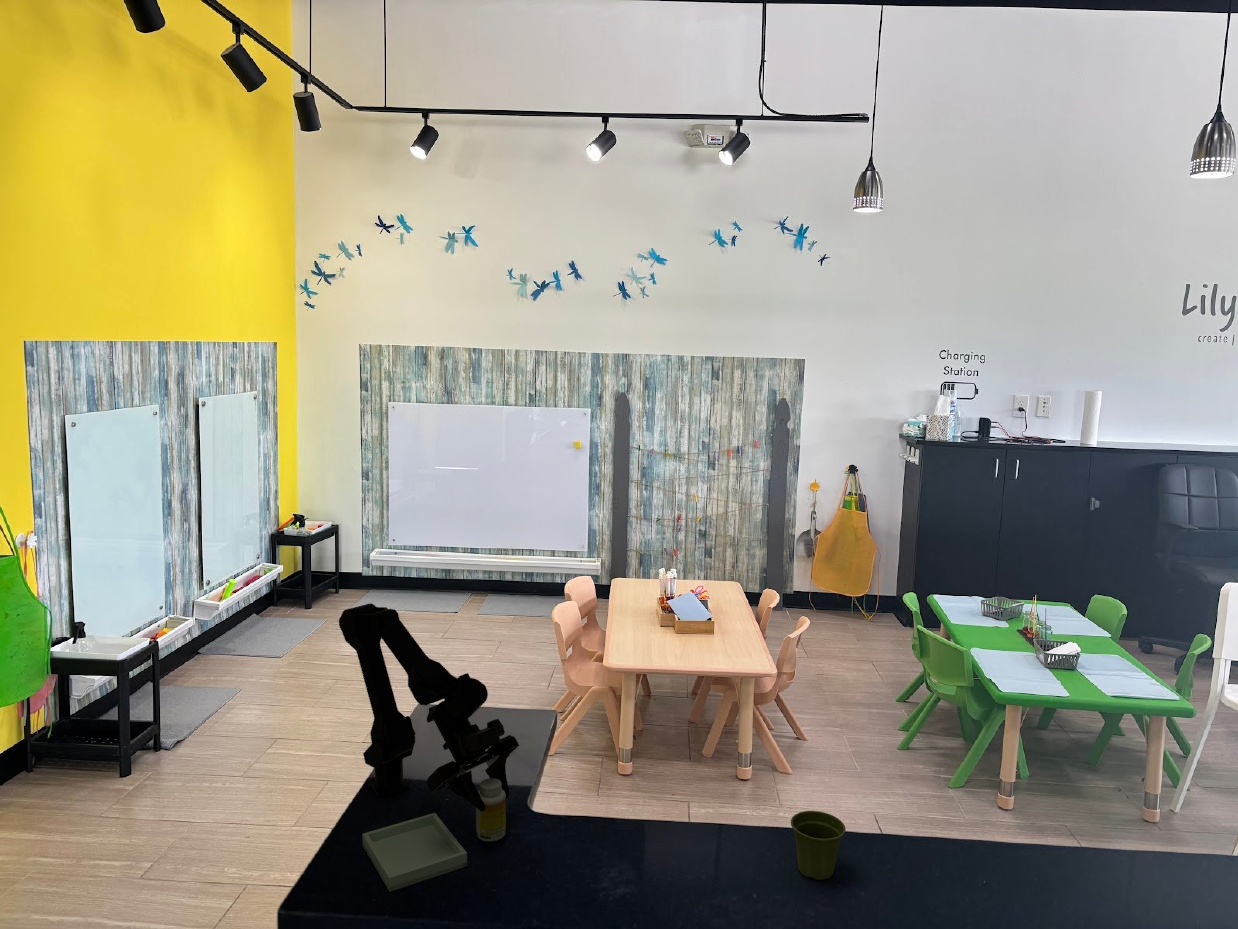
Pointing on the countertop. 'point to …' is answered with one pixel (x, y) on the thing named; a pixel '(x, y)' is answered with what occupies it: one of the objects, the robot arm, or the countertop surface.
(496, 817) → the supplement bottle
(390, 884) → the tray
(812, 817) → the plant pot
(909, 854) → the countertop surface
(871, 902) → the countertop surface
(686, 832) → the countertop surface
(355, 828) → the countertop surface
